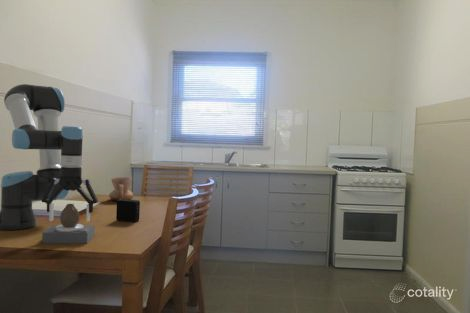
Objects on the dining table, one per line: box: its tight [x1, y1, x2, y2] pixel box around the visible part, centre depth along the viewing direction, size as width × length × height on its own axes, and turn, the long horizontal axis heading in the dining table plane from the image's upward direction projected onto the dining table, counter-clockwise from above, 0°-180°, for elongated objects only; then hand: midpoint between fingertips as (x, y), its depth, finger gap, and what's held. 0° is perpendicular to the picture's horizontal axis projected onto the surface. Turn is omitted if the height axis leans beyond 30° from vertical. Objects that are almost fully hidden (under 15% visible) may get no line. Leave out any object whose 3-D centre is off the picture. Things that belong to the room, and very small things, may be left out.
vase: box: [59, 203, 80, 228], centre depth 148 cm, size 7×7×9 cm
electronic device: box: [115, 199, 141, 223], centre depth 184 cm, size 4×10×10 cm, turn 78°
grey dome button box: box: [41, 223, 95, 245], centre depth 148 cm, size 16×12×5 cm
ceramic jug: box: [108, 176, 134, 202], centre depth 237 cm, size 18×14×14 cm
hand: (69, 220), depth 148 cm, fingers open, 13 cm apart
